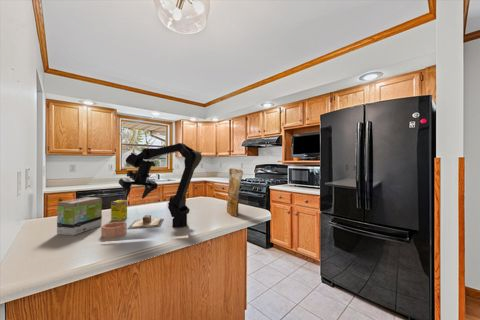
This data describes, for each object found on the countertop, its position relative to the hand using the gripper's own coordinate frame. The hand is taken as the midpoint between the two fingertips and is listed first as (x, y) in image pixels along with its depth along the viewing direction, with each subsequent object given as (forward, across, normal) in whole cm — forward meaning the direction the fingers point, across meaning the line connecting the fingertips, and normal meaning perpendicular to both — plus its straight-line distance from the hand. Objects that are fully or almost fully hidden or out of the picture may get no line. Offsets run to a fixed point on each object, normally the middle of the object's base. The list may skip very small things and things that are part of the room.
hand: (134, 198), depth 114 cm
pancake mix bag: (-4, -50, +30) cm, 58 cm away
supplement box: (+17, 0, -7) cm, 18 cm away
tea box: (+19, +18, -5) cm, 27 cm away
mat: (+9, -4, +13) cm, 16 cm away
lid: (+8, -4, +12) cm, 15 cm away
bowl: (+10, +13, +16) cm, 23 cm away
